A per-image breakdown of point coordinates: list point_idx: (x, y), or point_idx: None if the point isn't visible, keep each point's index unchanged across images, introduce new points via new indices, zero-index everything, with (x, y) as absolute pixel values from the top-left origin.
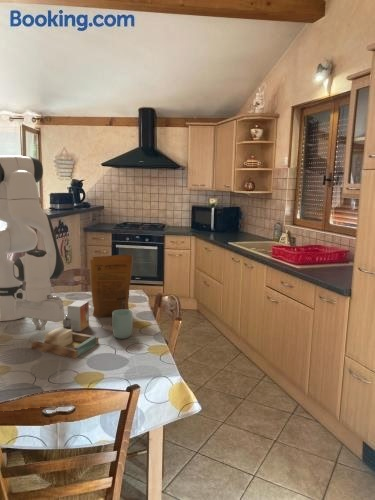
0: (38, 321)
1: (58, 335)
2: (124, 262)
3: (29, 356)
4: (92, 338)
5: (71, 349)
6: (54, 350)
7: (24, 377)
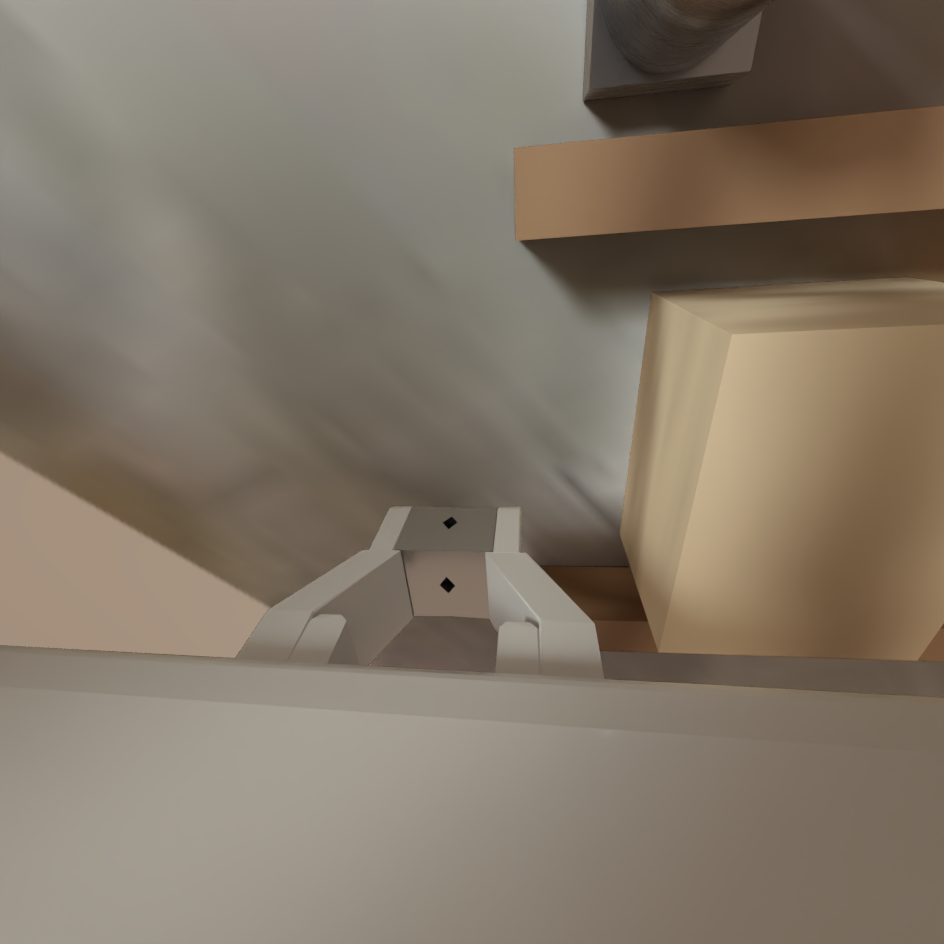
0: (348, 594)
1: (900, 615)
2: None
3: (610, 675)
4: None
5: None
6: None
7: None
